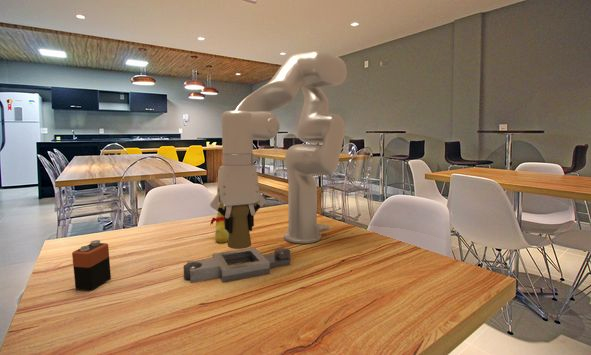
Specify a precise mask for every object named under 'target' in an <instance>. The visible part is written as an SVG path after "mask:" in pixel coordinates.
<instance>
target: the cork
mask: <svg viewBox="0 0 591 355" xmlns="http://www.w3.org/2000/svg"><path fill="white" fill-rule="evenodd" d="M248 214H249V207H248V205H240V206H232V208H231V213H230V216H231V218H232V233H230V234H229V239H228V242H227V247H229V248H230V249H234V250H241V249H248V248H251V246H252V240H251V239H252V238H251V234H250V232H251V231H249V225H248V219H247V215H248Z"/></svg>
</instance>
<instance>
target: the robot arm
mask: <svg viewBox="0 0 591 355" xmlns="http://www.w3.org/2000/svg"><path fill="white" fill-rule="evenodd" d="M347 68H348V67H347V65H346V63H345V62H344V60H343V59H342V58H341V57H339V56H336V55H333V54H331V53H327V52H325V51H320V50H313V51H305V52H300V53H299V52H298V53H294V54H291V55H289V56H288V57H287V58H286V59H285V60H284V61H283V62H282V64H281V66H279V68H278V70H277V71H276V72H275V74H274V75H273V77H272V78H271V79H270V81H268V82H267V83H266V84H264V85H262V86H260V87H259V88H257V89H256V90H255V91H253V92H252V93H250V94H249V95H247V96H246V97H245V98H244V99H243V100H241V101H240V103H238V105H237V106H236V108H234V110H226V111H224V112H222V114H221V141H222V142H221V145H222V165H220V166H219V168H218V173H217V174H218V175H217V188H216V189H217V190H216V191H217V193H216V195H215V197H213V200H211V203H210V204H209V206H210V208H212V209H213V210H215V211H217V213H218V212H219V213H221V214H222V215H223V216H224V225H225V230H227V231H228V233H229V234H230V233H232V218H231V217H230V213H231V208H232V206H240V205H248V207H249V214H248V215H247V219H248V225H249V232H252V231H253V227H255V223H254V222H255V219H254V218H255V215H256V213H257V212H258V210H260V208H261V207H262V206H264V205H265V204H266V202H267V200H266V199H265V197H264V196H263V194H262V193H261V192H260V186H259V177H258V172H257V167H256V165H255V164H254V163H255V162H258V161H259V156H258V155H255V154H254V143H253V141H267V140H271V139H273V138H275V137H276V136H277V134H278V133H279V130H280V120H279V118H278V117H277V116H276V114H274V113H272V111H274V110H278V109H280V108H283V107H284V106H287V105H288V104H290V103H292V102H293V101H294V99H295V98H296V96H297V94H298V93H299V91H301V92H302V94H303V98H304V99H303V107H302V111H301V115H300V118H299V123H298V125H297V138H298V139H299V140H300V141H301V142H304V143H303V144H301V143H299V144H294V145H291V146H289V148H288V149H287V150H286V152H285V154H284V155H285V156H284V159H285V160H284V162H285V167H286V168H285V169H286V173H287V179H288V180H287V183H288V184H287V186H288V194H287V195H288V201H287V202H288V209H287V210H288V215H287V217H288V225H287V226H288V227H287V228H288V231H286V232H284V233H283V239H284V241H287V242H289V243H294V244H302V245H303V244H312V243H313V244H314V243H316V242H319V241H320V240H321V239H322V233H321V232H323V231H329V230H330V226H329V224H322V223H319V224H318V222H317V220H318V219H317V217H318V185H317V182H316V179H315V177H314V176H313V175H316V176H317V175H318V176H331V175H332V174H334V173H335V171H336V170H337V168H338V165H339V160H340V158H341V153H342V147H343V143H344V139H345V134H346V133H345V132H346V126H345V122H344V119H343V118H342V116H341V115H339V114H337V113H336V114H335V113H329V108H330V105H329V104H330V103H329V99H328V98H327V96H326V95H325V93H324V92H323V91H322V90H323V89H321V87H335V86H340V85H342V84H343V83H344V82H345V80H346V78H347V75H348V70H347ZM300 89H301V90H300ZM305 143H306V144H305ZM218 203H221V205H223V206H224V209H223V208H221V207H220V206H218Z"/></svg>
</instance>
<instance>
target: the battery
mask: <svg viewBox="0 0 591 355" xmlns="http://www.w3.org/2000/svg"><path fill="white" fill-rule="evenodd" d="M109 248H110V247H109V244H108V243H107V242H106V243H105V242H104V243H103V242H101V240H100V239H96V240H91V241H90V244H86V245H83V246H81V247H80V248H78V249H76V250H74V251H73V252H72V255H71V256H72V266H73V267H72V268H73V274H74V275H73V277H74V286H75V290H79V291H93V290H95V289H96V288H98V287H100V286H101V285H102V284H104V283H106V282H107V281H109V280H111V278H112V273H111V262H110V261H111V260H110V250H109Z"/></svg>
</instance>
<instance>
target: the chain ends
mask: <svg viewBox="0 0 591 355" xmlns="http://www.w3.org/2000/svg"><path fill="white" fill-rule="evenodd" d="M290 265H291V250H290V249H289V248H284V247H283V248H276V249H275V250H274V251H273V253H268V254H263V253H261V252H260V251H259V250H258V249H257V248H256V247H247V248H244V249H234V250H230V251H223V252H217V253H212V257H210V258H205V259H197V260H191V261H186V264H184V265H183V279H184V281H187V282H190V283H191V284H192V283H198V282H202V281H207V280H208V281H209V280H214V279H220V280H221V282H222V283H227V282H233V281H238V280H242V279H243V280H244V279H249V278H254V277H259V276H264V275H269V274H270V269H273V268H274V269H275V268H279V267H285V266H290Z"/></svg>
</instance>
